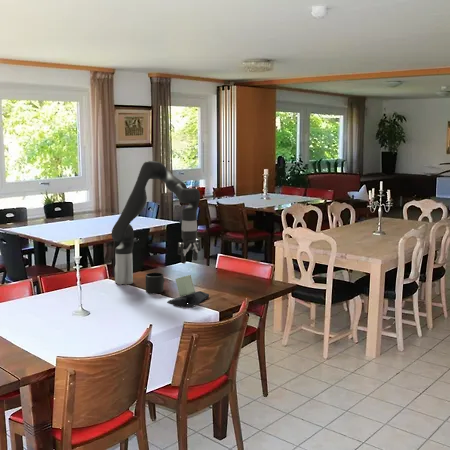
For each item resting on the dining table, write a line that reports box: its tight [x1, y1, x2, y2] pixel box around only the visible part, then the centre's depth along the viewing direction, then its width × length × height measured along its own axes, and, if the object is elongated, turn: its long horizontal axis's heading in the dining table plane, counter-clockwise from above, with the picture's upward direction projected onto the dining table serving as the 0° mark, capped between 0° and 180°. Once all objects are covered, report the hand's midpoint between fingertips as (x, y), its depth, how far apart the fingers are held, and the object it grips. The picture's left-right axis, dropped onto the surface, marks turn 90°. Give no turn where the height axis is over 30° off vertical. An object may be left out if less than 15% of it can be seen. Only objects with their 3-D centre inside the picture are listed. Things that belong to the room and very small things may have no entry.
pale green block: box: [175, 274, 196, 297], centre depth 279 cm, size 6×6×9 cm
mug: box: [144, 272, 165, 294], centre depth 296 cm, size 9×12×9 cm
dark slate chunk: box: [166, 290, 210, 309], centre depth 279 cm, size 15×22×5 cm
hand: (189, 261), depth 274 cm, fingers open, 8 cm apart
